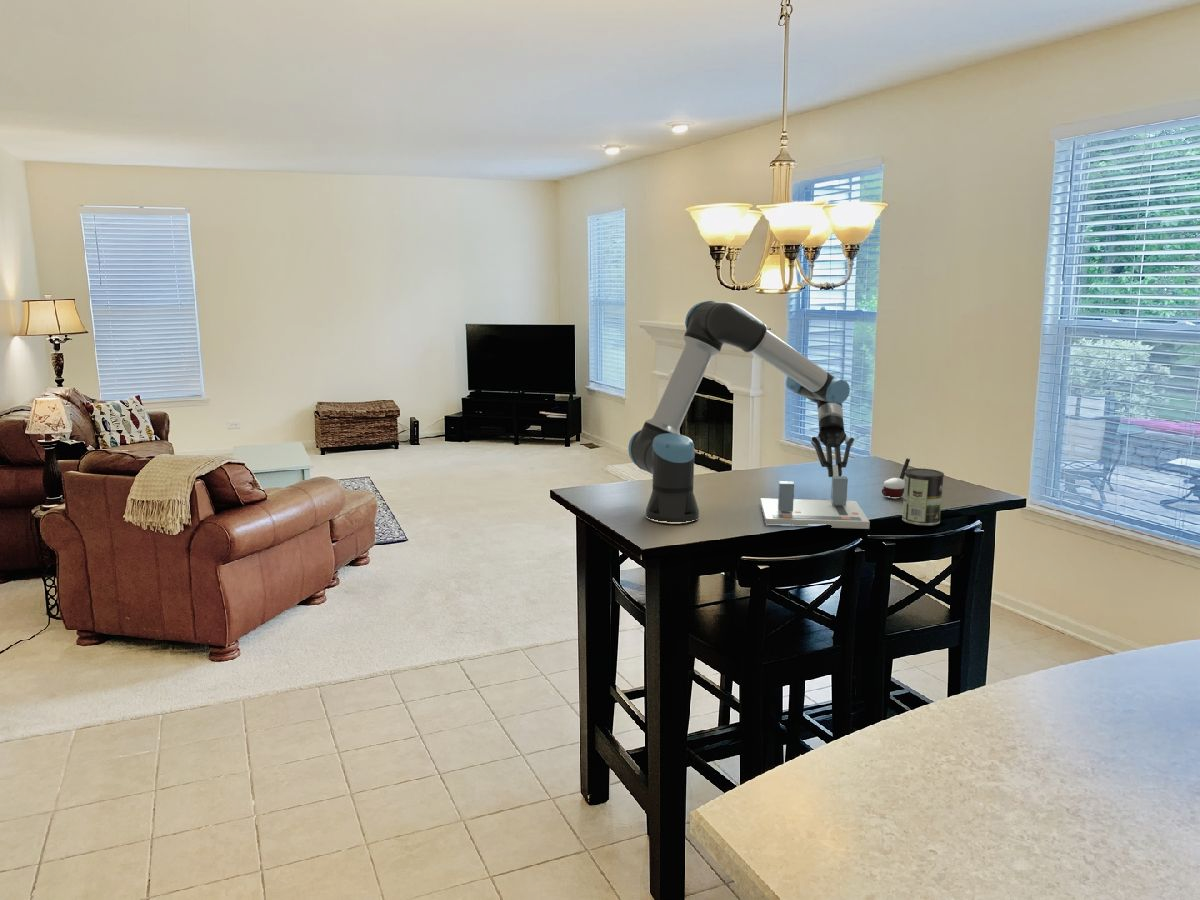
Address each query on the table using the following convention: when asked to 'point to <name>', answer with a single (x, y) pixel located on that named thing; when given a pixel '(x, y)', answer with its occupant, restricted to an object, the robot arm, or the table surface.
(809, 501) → the switch panel
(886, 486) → the cocoa
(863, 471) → the table surface
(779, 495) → the left switch tab
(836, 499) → the right switch tab
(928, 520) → the coffee can
